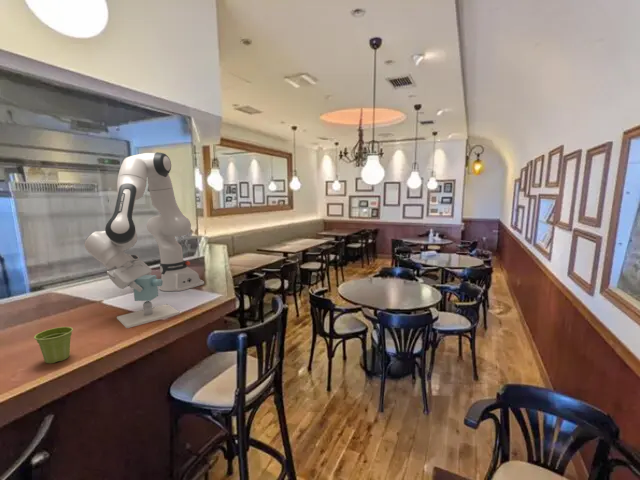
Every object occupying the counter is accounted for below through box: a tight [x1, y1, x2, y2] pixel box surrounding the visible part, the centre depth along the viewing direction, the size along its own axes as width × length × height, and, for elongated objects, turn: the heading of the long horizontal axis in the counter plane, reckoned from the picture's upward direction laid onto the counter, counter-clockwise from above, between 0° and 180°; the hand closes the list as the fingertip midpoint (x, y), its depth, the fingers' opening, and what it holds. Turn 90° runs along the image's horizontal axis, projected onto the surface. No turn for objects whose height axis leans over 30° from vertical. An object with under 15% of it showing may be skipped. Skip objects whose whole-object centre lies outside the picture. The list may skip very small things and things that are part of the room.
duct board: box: [116, 301, 181, 329], centre depth 138 cm, size 20×14×7 cm
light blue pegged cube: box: [133, 274, 163, 302], centre depth 136 cm, size 6×10×9 cm
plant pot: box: [33, 326, 74, 364], centre depth 103 cm, size 9×9×9 cm
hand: (147, 287), depth 136 cm, fingers closed on light blue pegged cube, 6 cm apart
